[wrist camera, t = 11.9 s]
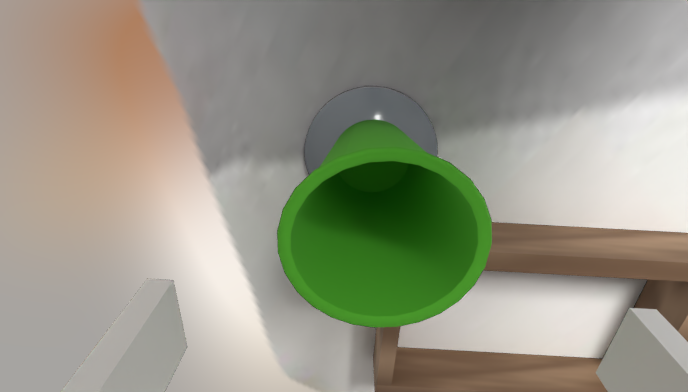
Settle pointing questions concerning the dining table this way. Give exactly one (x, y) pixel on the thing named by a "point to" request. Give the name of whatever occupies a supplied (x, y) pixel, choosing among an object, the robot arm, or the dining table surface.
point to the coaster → (366, 107)
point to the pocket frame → (546, 258)
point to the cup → (383, 231)
